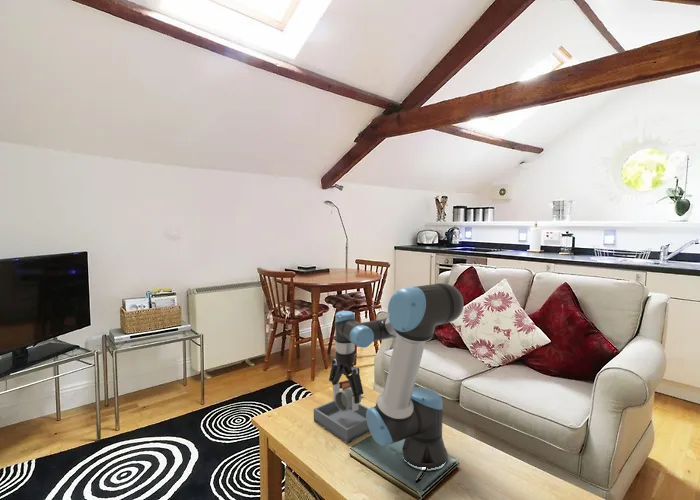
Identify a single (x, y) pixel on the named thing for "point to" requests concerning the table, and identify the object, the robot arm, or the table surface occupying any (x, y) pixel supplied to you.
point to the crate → (342, 421)
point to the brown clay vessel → (344, 385)
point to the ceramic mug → (345, 399)
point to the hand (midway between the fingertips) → (345, 404)
